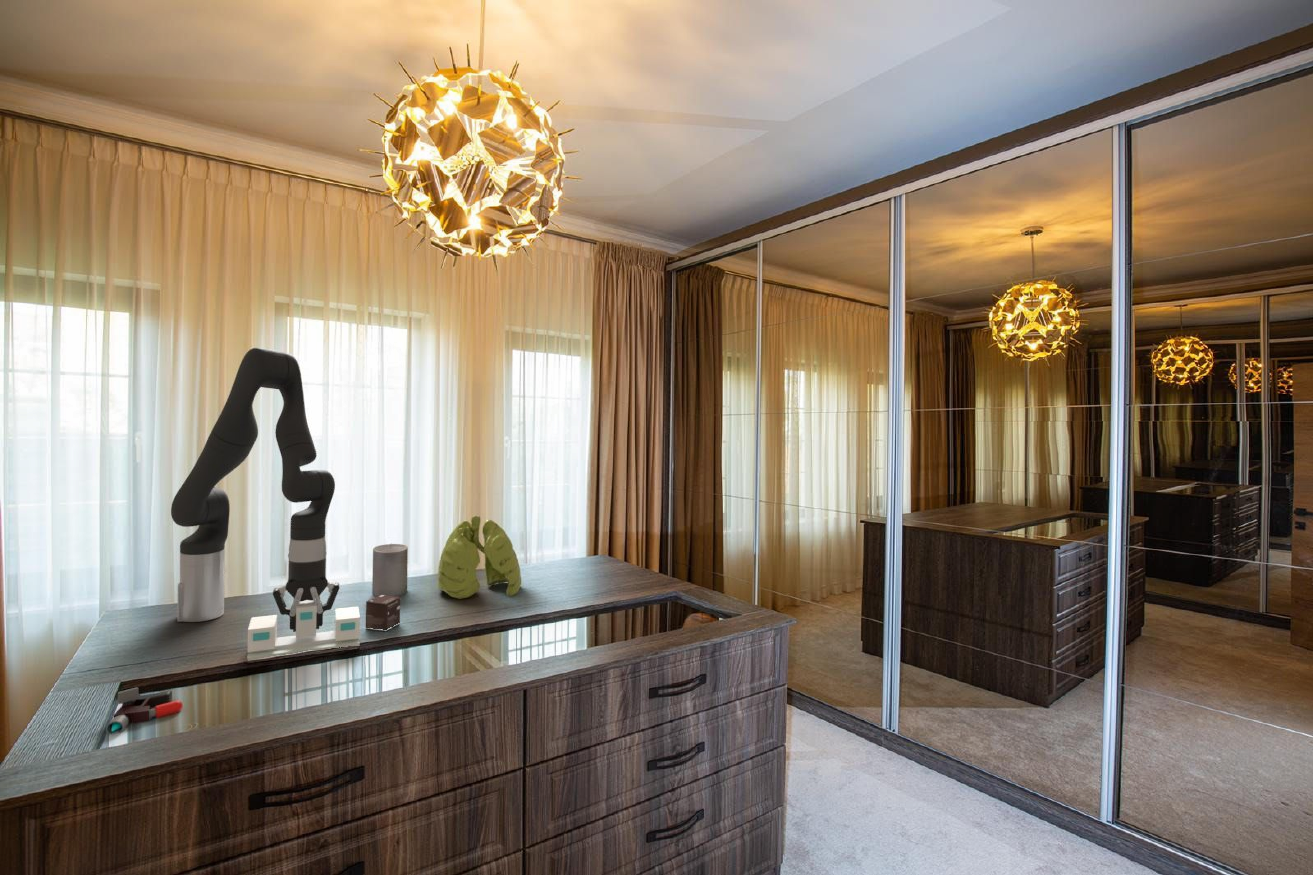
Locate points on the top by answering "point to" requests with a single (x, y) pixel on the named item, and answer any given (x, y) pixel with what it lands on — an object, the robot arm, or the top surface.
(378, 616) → the box
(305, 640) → the board
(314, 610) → the block
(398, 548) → the pillar candle
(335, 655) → the top surface
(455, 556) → the lungs
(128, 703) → the toy gun
